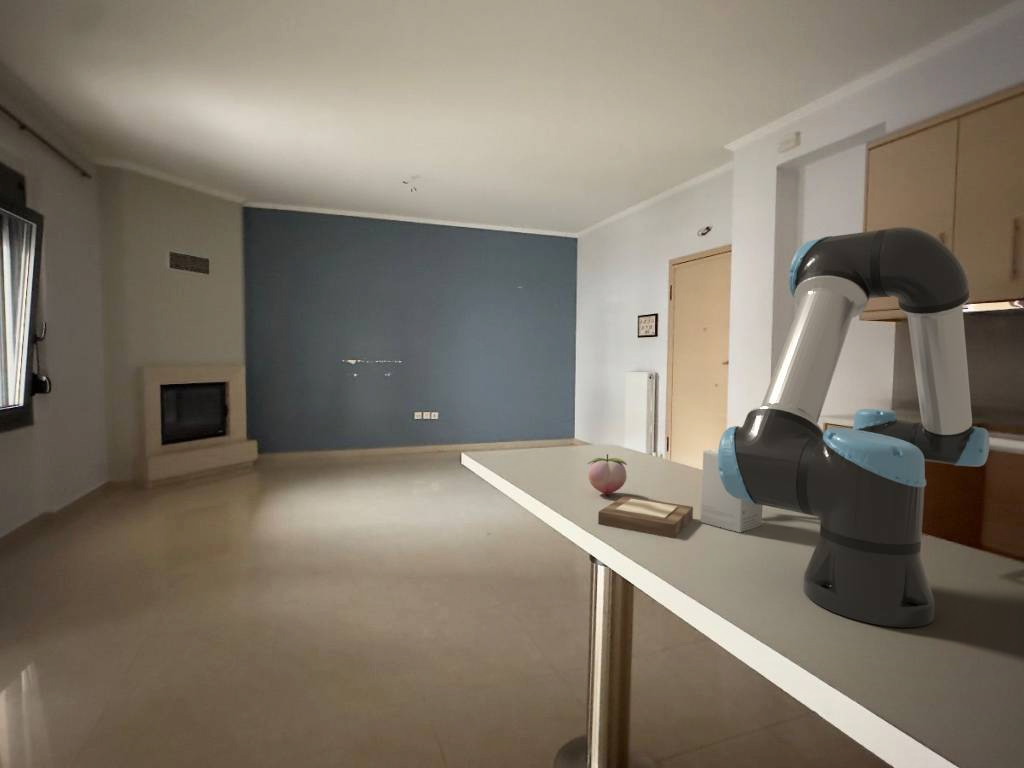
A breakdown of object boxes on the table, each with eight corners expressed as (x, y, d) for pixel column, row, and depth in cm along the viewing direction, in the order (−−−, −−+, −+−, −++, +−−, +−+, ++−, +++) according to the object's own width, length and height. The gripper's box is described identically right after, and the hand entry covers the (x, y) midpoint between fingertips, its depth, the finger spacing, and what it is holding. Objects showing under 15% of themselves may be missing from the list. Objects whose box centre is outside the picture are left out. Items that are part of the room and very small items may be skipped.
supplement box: (740, 534, 105) (743, 456, 104) (698, 522, 111) (701, 450, 111) (763, 525, 110) (766, 452, 110) (722, 515, 117) (724, 446, 117)
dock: (673, 537, 101) (674, 522, 101) (598, 523, 109) (598, 510, 109) (692, 518, 114) (693, 505, 114) (623, 507, 122) (624, 494, 122)
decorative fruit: (622, 491, 137) (623, 451, 137) (628, 499, 129) (629, 457, 129) (584, 490, 137) (585, 450, 137) (588, 498, 129) (589, 456, 129)
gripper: (877, 518, 102) (773, 521, 99) (790, 487, 127) (704, 488, 124) (879, 479, 102) (775, 480, 99) (791, 455, 126) (706, 456, 123)
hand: (735, 485), depth 111 cm, fingers open, 13 cm apart
